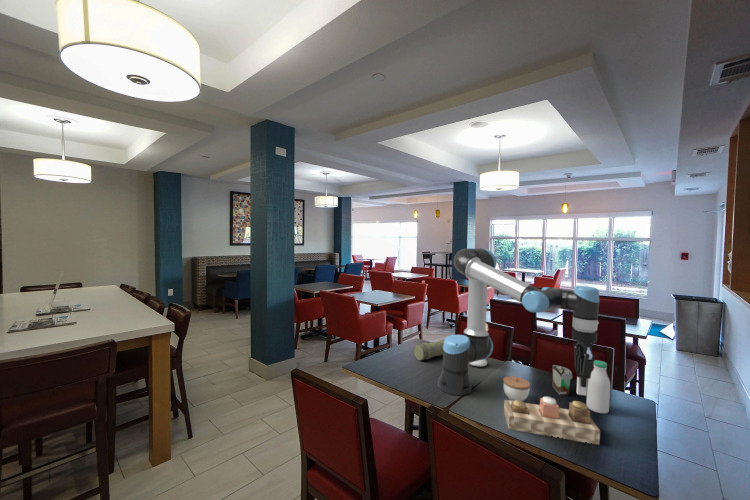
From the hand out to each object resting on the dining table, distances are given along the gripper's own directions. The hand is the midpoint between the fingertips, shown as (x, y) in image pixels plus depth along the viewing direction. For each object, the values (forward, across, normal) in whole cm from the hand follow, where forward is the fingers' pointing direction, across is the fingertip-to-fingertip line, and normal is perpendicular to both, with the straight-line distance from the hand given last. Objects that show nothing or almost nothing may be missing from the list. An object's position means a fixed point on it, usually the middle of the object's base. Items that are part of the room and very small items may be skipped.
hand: (581, 394), depth 115 cm
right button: (+10, 0, 0) cm, 10 cm away
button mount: (+14, 0, +10) cm, 18 cm away
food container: (+14, +34, -5) cm, 37 cm away
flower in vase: (+14, +53, +32) cm, 64 cm away
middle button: (+10, 0, +10) cm, 14 cm away
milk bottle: (+15, +21, -14) cm, 29 cm away
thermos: (+9, +48, +64) cm, 81 cm away
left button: (+13, 0, +20) cm, 24 cm away
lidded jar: (+14, +19, +18) cm, 30 cm away
